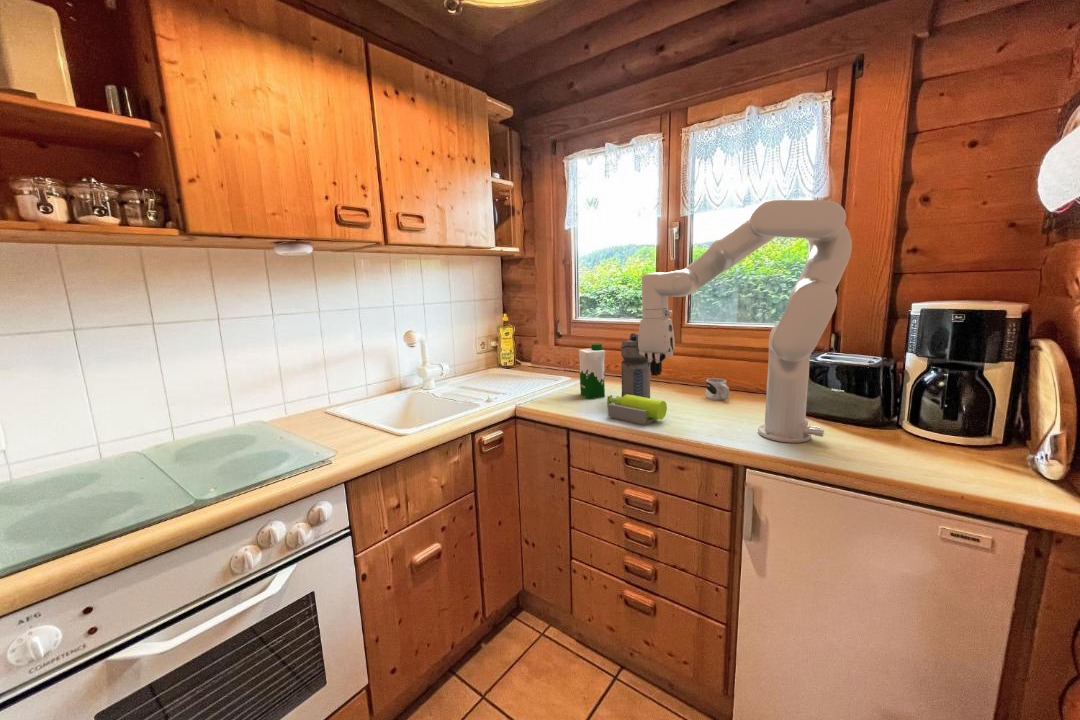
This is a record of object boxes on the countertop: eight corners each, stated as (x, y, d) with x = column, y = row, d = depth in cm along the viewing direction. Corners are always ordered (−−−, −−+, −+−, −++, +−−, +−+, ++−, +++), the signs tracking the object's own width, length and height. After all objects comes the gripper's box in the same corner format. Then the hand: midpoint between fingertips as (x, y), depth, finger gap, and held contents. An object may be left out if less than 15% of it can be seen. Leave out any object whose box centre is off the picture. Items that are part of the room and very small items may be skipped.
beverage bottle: (645, 395, 162) (646, 330, 157) (653, 405, 149) (653, 334, 144) (618, 396, 162) (618, 331, 158) (624, 406, 149) (623, 335, 145)
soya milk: (608, 397, 162) (607, 345, 158) (586, 400, 159) (585, 347, 156) (598, 391, 170) (597, 342, 167) (577, 394, 168) (576, 344, 164)
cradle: (662, 416, 137) (662, 402, 136) (644, 425, 129) (644, 411, 128) (627, 409, 146) (626, 396, 145) (608, 417, 138) (608, 404, 137)
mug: (702, 396, 158) (702, 379, 157) (717, 394, 160) (718, 377, 158) (719, 403, 148) (720, 385, 147) (736, 401, 150) (736, 383, 149)
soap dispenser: (666, 420, 133) (613, 409, 147) (667, 399, 132) (613, 389, 146) (656, 425, 129) (603, 412, 143) (657, 402, 128) (603, 392, 142)
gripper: (684, 313, 125) (684, 374, 128) (639, 313, 135) (640, 370, 138) (673, 315, 119) (673, 379, 122) (626, 315, 129) (628, 374, 132)
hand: (656, 374), depth 130 cm, fingers closed
